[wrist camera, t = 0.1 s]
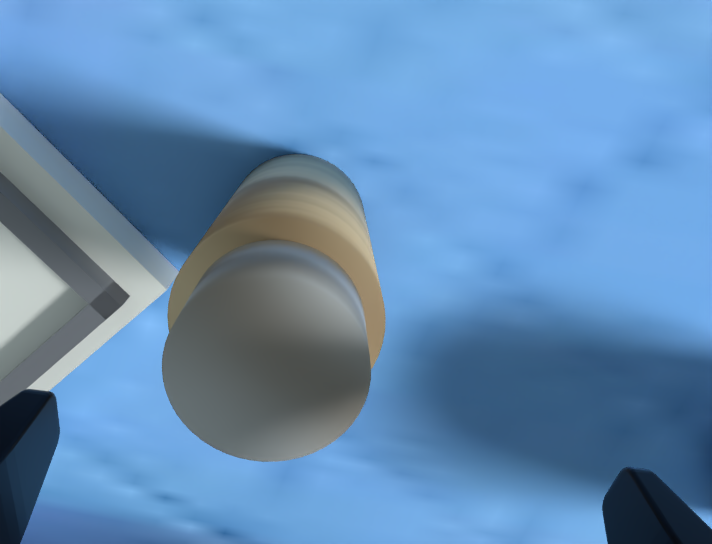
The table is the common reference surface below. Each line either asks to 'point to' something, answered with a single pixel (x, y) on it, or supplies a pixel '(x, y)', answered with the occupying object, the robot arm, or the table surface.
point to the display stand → (62, 262)
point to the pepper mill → (277, 315)
